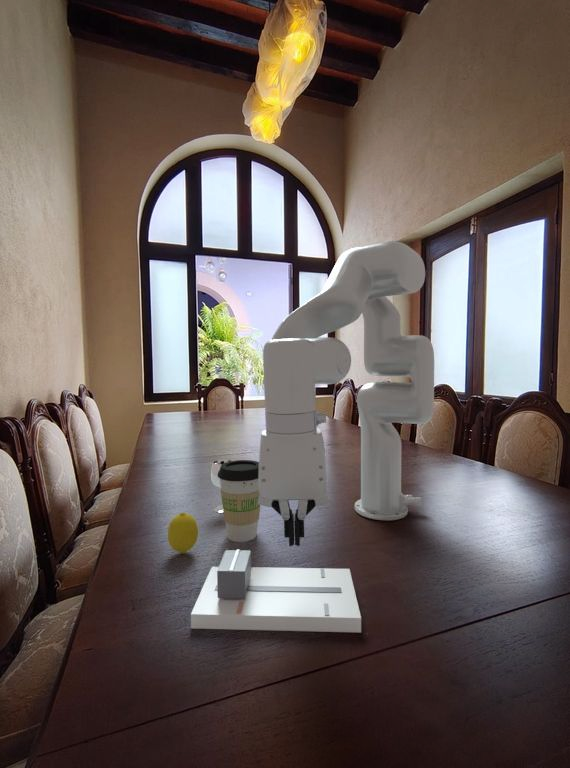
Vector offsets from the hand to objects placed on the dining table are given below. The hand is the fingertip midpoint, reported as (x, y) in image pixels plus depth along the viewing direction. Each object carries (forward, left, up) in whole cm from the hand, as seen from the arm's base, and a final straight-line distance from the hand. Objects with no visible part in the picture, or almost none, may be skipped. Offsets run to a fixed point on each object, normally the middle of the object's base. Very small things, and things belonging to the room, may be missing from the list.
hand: (294, 541), depth 56 cm
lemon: (+22, -13, -9) cm, 27 cm away
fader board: (+3, +1, -9) cm, 9 cm away
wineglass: (+19, -35, -9) cm, 41 cm away
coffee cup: (+12, -21, -9) cm, 26 cm away
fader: (+9, +1, -7) cm, 11 cm away
